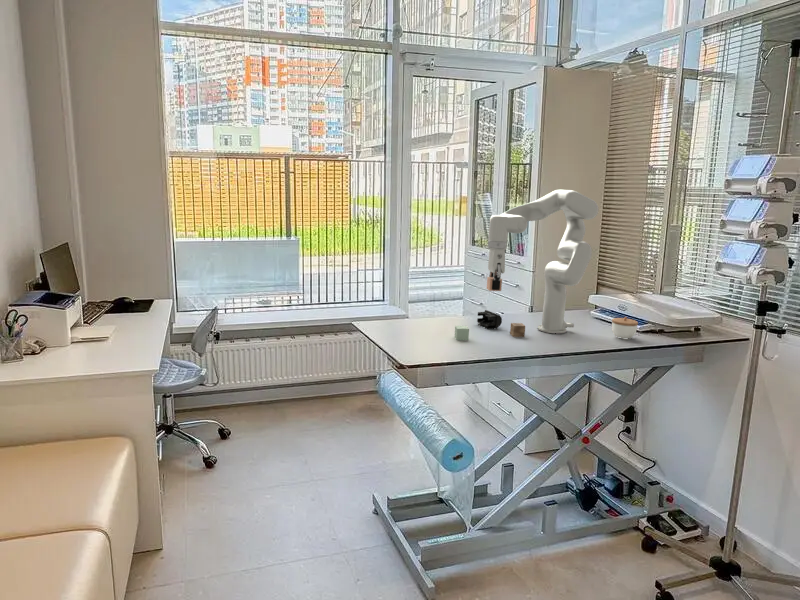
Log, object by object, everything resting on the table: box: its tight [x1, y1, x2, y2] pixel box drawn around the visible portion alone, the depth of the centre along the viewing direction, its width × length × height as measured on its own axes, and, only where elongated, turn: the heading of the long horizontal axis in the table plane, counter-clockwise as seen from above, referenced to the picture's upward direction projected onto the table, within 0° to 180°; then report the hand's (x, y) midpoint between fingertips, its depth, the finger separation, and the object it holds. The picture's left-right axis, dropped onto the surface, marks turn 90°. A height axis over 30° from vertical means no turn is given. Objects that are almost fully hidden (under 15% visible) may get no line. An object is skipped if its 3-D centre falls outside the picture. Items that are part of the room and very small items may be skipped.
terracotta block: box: [486, 276, 503, 292], centre depth 249 cm, size 5×5×5 cm
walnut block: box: [509, 322, 526, 338], centre depth 258 cm, size 5×5×5 cm
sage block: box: [454, 325, 470, 341], centre depth 249 cm, size 5×5×5 cm
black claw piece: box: [476, 309, 503, 330], centre depth 272 cm, size 10×7×7 cm
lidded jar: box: [611, 316, 639, 339], centre depth 262 cm, size 11×11×9 cm
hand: (494, 288), depth 249 cm, fingers closed on terracotta block, 5 cm apart
